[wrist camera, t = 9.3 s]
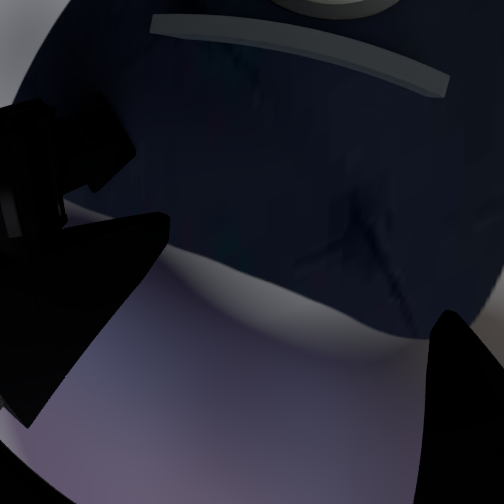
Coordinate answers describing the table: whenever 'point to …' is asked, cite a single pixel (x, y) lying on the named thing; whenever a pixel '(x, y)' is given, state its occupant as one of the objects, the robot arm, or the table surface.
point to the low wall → (306, 47)
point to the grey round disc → (336, 8)
